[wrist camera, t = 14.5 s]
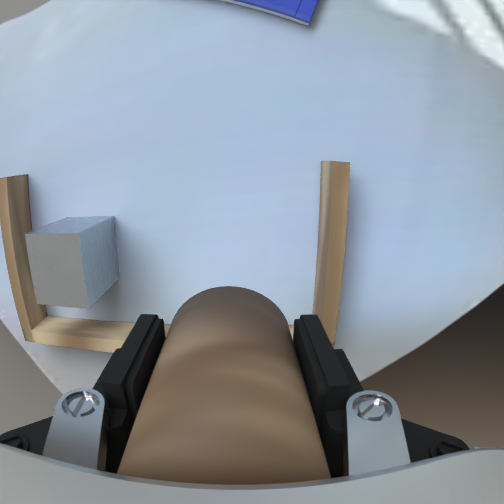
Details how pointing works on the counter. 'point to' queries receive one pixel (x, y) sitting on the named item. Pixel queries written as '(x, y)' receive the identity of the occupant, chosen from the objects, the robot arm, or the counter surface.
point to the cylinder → (226, 399)
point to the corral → (115, 333)
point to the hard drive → (282, 8)
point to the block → (73, 260)
